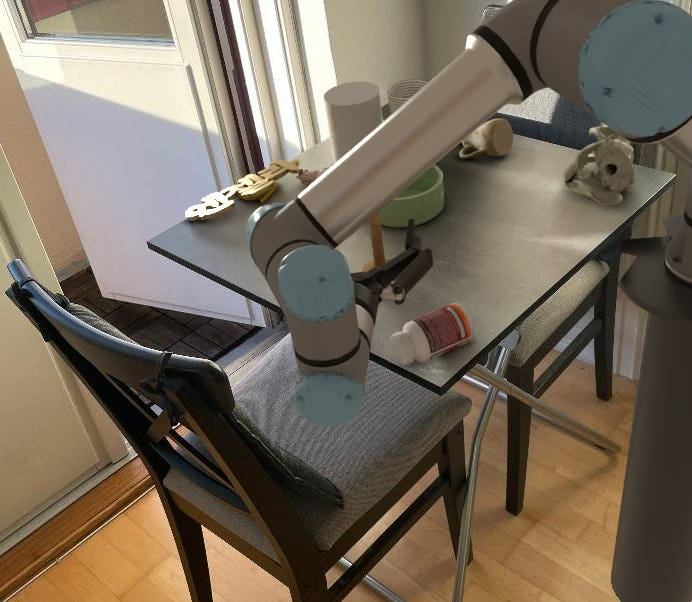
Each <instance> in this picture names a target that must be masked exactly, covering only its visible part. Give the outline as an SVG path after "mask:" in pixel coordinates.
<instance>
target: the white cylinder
mask: <svg viewBox="0 0 692 602" xmlns="http://www.w3.org/2000/svg"><path fill="white" fill-rule="evenodd" d="M323 102H324V108H325V114H326V121H327V128H328V133H329V140H330V145H331V146H330V147H331V152H332V158H333V159H332V160H333V165H334V164H335V163H336V162H337V161H339V160H340V159H341V158H342V157H343V156H344V155H346V154H347V153H348V152H349V151H350V150H351V149H352V148H354V147H355V146H356V145H357V144H358V143H359V142H361V141H362V140H363V139H364V138H365V137H366V136H367V135H369V134H370V133H371V132H372V131H373V130H374V129H375V128H377V127H378V126H379V125H380V124H381V123H382V122H383V120H384V119H383V110H382V102H381V94H380V87H379V86H378V85H377V84H375V83H373V82H369V81H350V82H349V81H348V82H344V83H341V84H338V85H335V86H333V87H331V88H329V89H328V90H327V91H325V93H324V95H323Z"/></svg>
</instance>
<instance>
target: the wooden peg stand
mask: <svg viewBox="0 0 692 602" xmlns="http://www.w3.org/2000/svg"><path fill="white" fill-rule="evenodd" d="M367 222H368V227H369V228H368V229H369V235H370V243H371V251H372V258H373V260H370V261H368V262H367V263H365V264H364V265H363V266H362V267H361V270H360V272H365V273H366V272H367V271H369V270H370V269H372V268H374V267H375V266H376V267H381V266H382V265H384V264H385V263H387V262H388V261H390V260H391V259H392V258H391V259H390V258H386V256H385V247H384V241H383V233H382V231H383V230H382V225H381V222H380V214H379V212H378V213H377V214H375V215H374V216H373V217H372V218H371V219H369V220H368V221H367ZM373 279H374V280H375V278H373ZM390 285H391V284H389V285H387V286H386V288H388V287H389V286H390Z"/></svg>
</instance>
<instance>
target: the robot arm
mask: <svg viewBox="0 0 692 602" xmlns="http://www.w3.org/2000/svg"><path fill="white" fill-rule="evenodd" d="M543 89H550V90H551V91H553V92H555V93H556V94H558V95H560V96H561V97H563V98H565V99H566V100H568V101H569V102H571V103H572V104H574V105H576V106H577V107H579V108H581V109H583V110H584V111H585V112H587V113H588V114H590V115H591V116H592V117H594V118H596V119H597V120H598V121H600V122H601V123H603V124H604V126H608V127H610V128H611V129H612V130H614V131H615V132H616V133H618V134H619V135H621V136H622V137H624V138H625V139H626V140H628V141H629V142H630V143H633V144H636V145H640V146H641V145H643V146H644V145H645V146H647V145H653V144H657V145H658V146H660V147H661V148H663V149H664V150H665V151H667V152H668V153H669V154H670V155H672V156H673V157H674V158H675V159H677V160H678V161H679V162H681V163H683V164H684V165H685V166H687V167H688V168H689V177H688V183H687V189H686V197H685V206H684V209H683V210H684V211H683V215H684V216H683V219H682V221H681V222H680V224H679V226H678V228H677V229H676V231H675V233H674V234H673V235H672V236H671V237H670V238H669V239H668V241H667V242H666V244H667V243H668V242H669V243H668V245H667V248H666V250H665V257H664V266H665V269H666V271H667V272H668V273H669V275H670V276H671V277H672V278H674V279H675V280H676V281H678V282H679V283H681V284H683V285H685V286H687V287H690V288H692V15H691V14H690V13H689V12H687V10H685V9H684V8H682V7H680V6H678V5H676V4H673V3H671V2H668V1H665V0H511V1H509V2H508V3H507V4H505V5H503V7H501V8H500V9H498V10H497V11H495V12H493V14H492V15H491V16H489V17H488V18H487V19H486V20H484V22H482V23H481V24H480V25H479V26H478V27H477V28H475V29H474V30H473V31H471V33H469V34H468V36H467V37H466V44H465V50H464V51H463V52H462V53H461V54H459V55H458V56H457V57H456V58H455V59H453V61H451V62H450V63H449V64H448V65H447V66H445V68H443V69H442V70H441V71H439V73H437V74H436V75H435V76H434V77H433V78H432V79H430V80H429V81H428V83H427V84H426V85H425V86H424V87H423V88H422V89H420V90H419V91H418V92H417V93H416V94H415V95H413V96H412V97H411V98H410V99H409V100H408V101H407V102H405V103H404V104H403V105H402V106H401V107H400V108H399V109H397V110H396V111H395V112H394V113H393V114H392V115H391V114H390V115H389V116H388V117H387V118H386V119H384V122H382V123H381V124H380V125H379V126H378V127H377V128H375V129H374V130H373V131H372V132H371V133H370V134H369V135H367V136H366V137H365V138H364V139H363V140H362V141H361V142H359V143H358V144H357V145H356V146H355V147H354V148H352V149H351V150H350V151H349V152H348V153H347V154H346V155H344V156H343V157H342V158H341V159H340V160H339V161H337V162H336V163H335V164H334V163H333V166H332V165H331V166H332V167H331V166H330V167H331V168H329V169H328V170H327V171H326V172H325V173H324V174H323V175H321V176H320V177H319V178H318V179H317V180H316V181H314V182H313V183H312V184H311V185H310V186H307V187H306V188H305V189H304V190H302V192H300V193H299V194H298V195H297V196H296V197H295V198H294V199H292V200H291V201H290V202H288V203H287V204H286V203H284V202H271V203H268V204H265V205H262V206H260V207H258V208H257V209H256V210H255V211H254V212H253V213H252V214H251V215H250V217H249V218H248V220H247V222H246V225H245V230H244V238H245V243H246V245H247V247H248V250H249V254H250V258H252V261H253V262H254V265H255V266H256V267H257V268H258V270H259V271H260V273H261V275H262V276H263V278H264V280H265V281H266V283H267V286H268V287H269V290H270V291H271V293H272V294H273V296H274V299H275V300H276V302H277V304H278V306H279V308H280V309H281V311H282V312H283V315H284V316H285V317H284V318H285V319H286V322H287V327H288V330H289V333H290V337H291V341H292V347H293V352H294V357H295V362H296V366H297V371H298V378H297V379H298V380H297V381H296V382H295V385H294V390H295V391H294V397H293V401H294V407H295V409H296V411H297V412H298V414H299V415H300V416H301V417H302V418H303V420H305V421H307V422H309V423H310V424H312V425H315V426H317V427H320V428H340V427H344V426H346V425H348V424H350V423H351V422H352V421H354V420H355V419H356V418H357V416H358V414H359V413H360V409H361V406H362V403H363V400H364V396H365V395H366V390H365V387H366V386H365V385H366V380H367V375H368V374H367V373H368V369H369V368H368V367H369V362H370V355H371V348H372V344H373V343H372V342H373V338H374V332H375V328H376V327H375V326H376V320H377V316H378V311H379V310H378V309H379V305H380V303H382V302H383V300H393V301H394V304H395V305H396V306H402V305H403V304H404V303H405V300H406V297H407V295H408V293H409V292H410V291H411V290H413V288H414V287H415V286H416V285H417V284H418V283H419V282H420V281H421V280H422V279H423V278H424V276H426V275H427V273H428V272H429V271H430V270H431V269H432V268H433V267H434V258H433V257H434V256H433V249H432V248H430V247H426V248H424V249H422V238H421V235H416V225H414V219H409V220H408V227H406V228H407V229H406V235H405V242H404V248H405V249H404V251H402V252H401V253H399V254H397V255H396V256H395V257H393V258H391V260H390V261H388V262H387V263H385V264H384V265H382V266H381V267H376V266H375V267H374V268H372V269H370V270H369V271H367V272H366V273H365V272H361V271H357V272H351V271H350V266H349V262H348V260H347V258H346V256H345V254H344V253H342V252H341V251H340V250H339V249H336V248H337V247H339V246H340V245H341V244H342V243H344V242H345V241H346V240H347V239H348V238H349V237H350V236H352V235H353V234H354V233H356V231H358V230H359V229H360V228H361V227H362V226H363V225H365V224H366V223H367V222H369V221H368V220H369V219H371V218H372V217H373V216H374V215H375V214H377V213H378V212H379V211H380V210H381V209H382V208H384V207H385V206H386V205H387V204H388V203H390V202H391V201H392V200H393V199H394V198H396V197H397V196H398V195H399V194H400V193H401V192H403V191H404V190H405V189H406V188H407V187H409V186H410V185H411V184H412V183H413V182H414V181H416V180H417V179H418V178H419V177H420V176H422V175H423V174H424V173H425V172H426V171H428V170H429V169H430V168H431V167H432V166H433V165H437V163H438V162H439V161H441V160H442V159H443V158H444V157H446V156H447V155H448V154H449V153H451V152H452V151H453V150H454V149H455V148H457V146H458V145H460V144H462V141H463V140H464V139H465V138H467V137H468V136H469V135H470V134H471V133H473V132H474V131H475V130H476V129H477V128H479V127H480V126H481V125H483V124H484V123H486V122H488V121H489V120H490V119H491V118H492V117H493V116H494V115H495V114H496V113H498V112H499V111H500V110H501V109H502V108H504V106H507V105H515V106H520V105H521V104H522V103H524V102H525V101H526V100H527V99H528V98H529V97H531V96H532V95H533V94H534V93H537V92H538V91H541V90H543ZM666 244H665V245H666ZM373 278H375V280H374V279H373ZM389 284H391V285H390V286H389V287H388V288H386V286H387V285H389Z"/></svg>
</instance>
